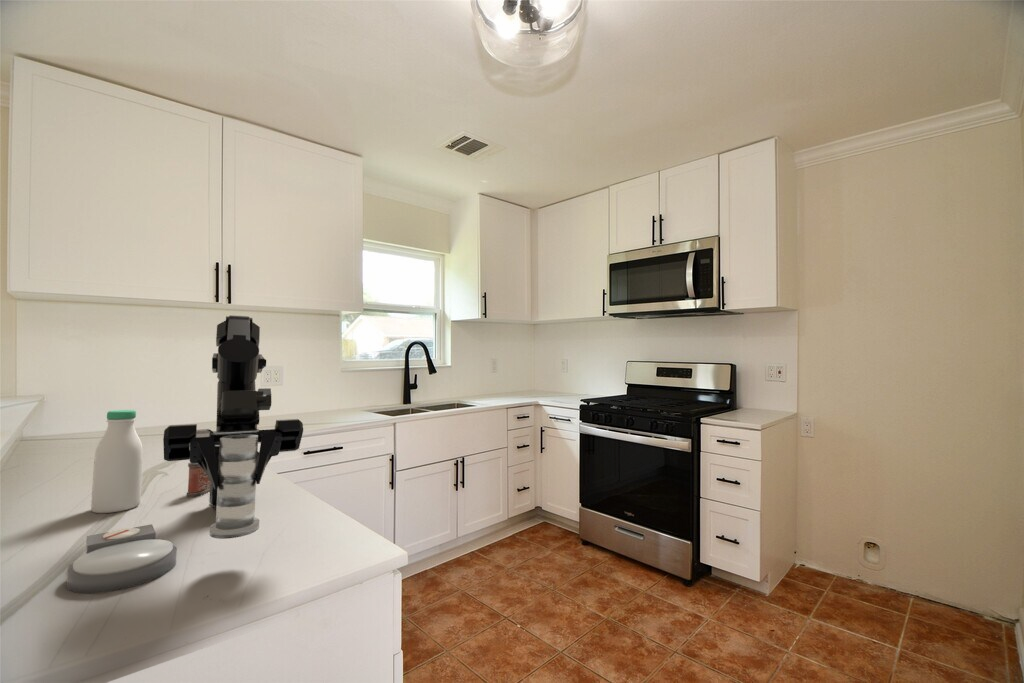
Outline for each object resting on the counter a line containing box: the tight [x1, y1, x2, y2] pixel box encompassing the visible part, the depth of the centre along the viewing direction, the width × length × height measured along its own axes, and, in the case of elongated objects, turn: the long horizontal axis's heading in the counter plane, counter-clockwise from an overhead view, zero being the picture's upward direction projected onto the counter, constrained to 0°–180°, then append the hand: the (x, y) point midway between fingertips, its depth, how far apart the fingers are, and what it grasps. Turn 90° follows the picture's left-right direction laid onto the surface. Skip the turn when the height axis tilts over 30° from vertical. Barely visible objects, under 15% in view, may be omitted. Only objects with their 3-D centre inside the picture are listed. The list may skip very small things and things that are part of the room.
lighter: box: [186, 461, 211, 499], centre depth 106 cm, size 8×3×10 cm, turn 5°
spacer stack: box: [209, 434, 260, 540], centre depth 69 cm, size 6×6×14 cm
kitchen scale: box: [66, 523, 178, 594], centre depth 68 cm, size 12×16×4 cm
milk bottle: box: [90, 409, 144, 514], centre depth 95 cm, size 8×8×20 cm
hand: (237, 485), depth 68 cm, fingers closed on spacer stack, 5 cm apart
